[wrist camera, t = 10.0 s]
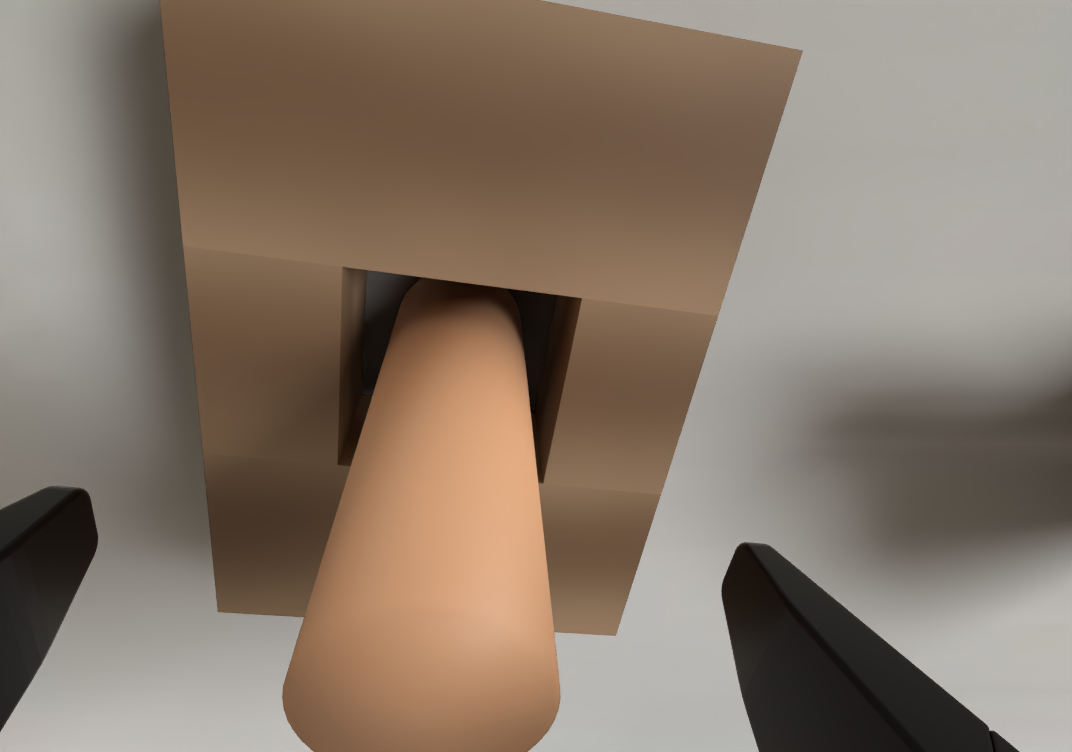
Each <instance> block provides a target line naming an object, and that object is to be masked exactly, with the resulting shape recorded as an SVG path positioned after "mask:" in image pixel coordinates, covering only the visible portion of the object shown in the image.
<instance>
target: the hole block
mask: <svg viewBox="0 0 1072 752" xmlns="http://www.w3.org/2000/svg"><path fill="white" fill-rule="evenodd" d="M160 10H161V21H162V31H163V42H164V52H165V63H166V73H167V84H168V94H169V105H170V115H171V126H172V136H173V147H174V157H175V168H176V178H177V189H178V199H179V210H180V220H181V231H182V241H183V251H184V262H185V272H186V283H187V293H188V304H189V314H190V325H191V335H192V346H193V356H194V367H195V377H196V388H197V398H198V409H199V419H200V430H201V440H202V451H203V461H204V472H205V482H206V493H207V503H208V514H209V524H210V534H211V545H212V555H213V566H214V576H215V587H216V597H217V608H218V612H226V613H243V614H260V615H277V616H293V617H304V616H305V613H306V610H307V607H308V603H309V600H310V597H311V594H312V590H313V587H314V584H315V581H316V577H317V574H318V571H319V568H320V565H321V561H322V558H323V555H324V552H325V548H326V545H327V542H328V539H329V535H330V532H331V529H332V526H333V522H334V519H335V516H336V513H337V509H338V506H339V503H340V500H341V496H342V493H343V490H344V487H345V483H346V480H347V477H348V474H349V470H350V467H351V464H352V461H353V458H354V454H355V451H356V448H357V445H358V441H359V438H360V435H361V432H362V428H363V425H364V422H365V419H366V415H367V412H368V409H369V406H370V402H371V399H372V396H369V395H361V391H362V367H363V343H364V320H365V296H366V272H367V270H371V271H378V272H386V273H394V274H401V275H409V276H417V277H424V278H432V279H440V280H447V281H455V282H463V283H470V284H478V285H486V286H493V287H501V288H509V289H516V290H524V291H532V292H539V293H547V294H554V295H557V299H556V304H555V310H554V315H553V320H552V325H551V331H550V336H549V341H548V346H547V352H546V357H545V362H544V367H543V373H542V378H541V383H540V388H539V394H538V399H537V404H536V409H535V413H531V420H532V430H533V439H534V448H535V458H536V467H537V476H538V486H539V495H540V505H541V514H542V523H543V533H544V542H545V551H546V561H547V570H548V579H549V589H550V598H551V607H552V617H553V626H554V632H561V633H578V634H595V635H612V636H616V633H617V630H618V627H619V624H620V621H621V617H622V614H623V611H624V608H625V605H626V602H627V599H628V596H629V592H630V589H631V586H632V583H633V580H634V577H635V574H636V571H637V567H638V564H639V561H640V558H641V555H642V552H643V549H644V546H645V542H646V539H647V536H648V533H649V530H650V527H651V524H652V521H653V517H654V514H655V511H656V508H657V505H658V502H659V499H660V496H661V492H662V489H663V486H664V483H665V480H666V477H667V474H668V471H669V467H670V464H671V461H672V458H673V455H674V452H675V449H676V446H677V442H678V439H679V436H680V433H681V430H682V427H683V424H684V421H685V417H686V414H687V411H688V408H689V405H690V402H691V399H692V396H693V392H694V389H695V386H696V383H697V380H698V377H699V374H700V371H701V367H702V364H703V361H704V358H705V355H706V352H707V349H708V346H709V342H710V339H711V336H712V333H713V330H714V327H715V324H716V321H717V317H718V314H719V311H720V308H721V305H722V302H723V299H724V296H725V292H726V289H727V286H728V283H729V280H730V277H731V274H732V271H733V267H734V264H735V261H736V258H737V255H738V252H739V249H740V246H741V242H742V239H743V236H744V233H745V230H746V227H747V224H748V221H749V217H750V214H751V211H752V208H753V205H754V202H755V199H756V196H757V192H758V189H759V186H760V183H761V180H762V177H763V174H764V171H765V167H766V164H767V161H768V158H769V155H770V152H771V149H772V146H773V142H774V139H775V136H776V133H777V130H778V127H779V124H780V121H781V117H782V114H783V111H784V108H785V105H786V102H787V99H788V96H789V92H790V89H791V86H792V83H793V80H794V77H795V74H796V71H797V67H798V64H799V61H800V58H801V55H802V52H803V51H802V50H797V49H792V48H787V47H781V46H776V45H771V44H766V43H761V42H755V41H750V40H745V39H740V38H734V37H729V36H724V35H719V34H714V33H708V32H703V31H698V30H693V29H688V28H682V27H677V26H672V25H667V24H661V23H656V22H651V21H646V20H641V19H635V18H630V17H625V16H620V15H615V14H609V13H604V12H599V11H594V10H588V9H583V8H578V7H573V6H568V5H562V4H557V3H552V2H547V1H542V0H160Z"/></svg>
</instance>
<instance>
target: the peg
mask: <svg viewBox="0 0 1072 752" xmlns="http://www.w3.org/2000/svg"><path fill="white" fill-rule="evenodd" d="M282 699H283V707H284V711H285V714H286V717H287V720H288V722H289V723H290V725H291V727H292V729H293V730H294V732H295V733H296V734H297V736H298V737H299V738H300V739H301V740H302V742H304V743H305V744H306V745H307V746H308V747H309V748H310V749H311V750H312V751H314V752H527V751H529V750H530V749H531V748H532V747H533V746H535V745H536V744H537V743H538V742H539V741H540V740H541V739H542V738H543V736H544V735H545V734H546V733H547V732H548V730H549V729H550V727H551V725H552V724H553V722H554V720H555V717H556V715H557V712H558V709H559V704H560V682H559V673H558V663H557V654H556V645H555V635H554V626H553V617H552V607H551V598H550V589H549V579H548V570H547V561H546V551H545V542H544V533H543V523H542V514H541V505H540V495H539V486H538V476H537V467H536V458H535V448H534V439H533V430H532V420H531V411H530V402H529V392H528V383H527V374H526V364H525V355H524V346H523V336H522V327H521V318H520V313H519V310H518V307H517V304H516V302H515V300H514V298H513V297H512V295H511V294H510V293H509V291H508V290H507V289H506V288H501V287H493V286H486V285H478V284H470V283H463V282H455V281H447V280H440V279H432V278H424V277H423V278H422V279H420V280H419V281H418V282H416V283H415V284H414V285H413V286H412V287H411V288H410V290H409V291H408V292H407V294H406V295H405V297H404V298H403V301H402V303H401V305H400V308H399V312H398V315H397V318H396V321H395V325H394V328H393V331H392V334H391V338H390V341H389V344H388V347H387V351H386V354H385V357H384V360H383V363H382V367H381V370H380V373H379V376H378V380H377V383H376V386H375V389H374V393H373V396H372V399H371V402H370V406H369V409H368V412H367V415H366V419H365V422H364V425H363V428H362V432H361V435H360V438H359V441H358V445H357V448H356V451H355V454H354V458H353V461H352V464H351V467H350V470H349V474H348V477H347V480H346V483H345V487H344V490H343V493H342V496H341V500H340V503H339V506H338V509H337V513H336V516H335V519H334V522H333V526H332V529H331V532H330V535H329V539H328V542H327V545H326V548H325V552H324V555H323V558H322V561H321V565H320V568H319V571H318V574H317V577H316V581H315V584H314V587H313V590H312V594H311V597H310V600H309V603H308V607H307V610H306V613H305V616H304V620H303V623H302V626H301V629H300V633H299V636H298V639H297V642H296V646H295V649H294V652H293V655H292V659H291V662H290V665H289V668H288V672H287V675H286V678H285V682H284V685H283V695H282Z"/></svg>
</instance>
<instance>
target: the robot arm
mask: <svg viewBox="0 0 1072 752" xmlns="http://www.w3.org/2000/svg"><path fill="white" fill-rule="evenodd" d="M97 544H98V533H97V528H96V523H95V518H94V513H93V509H92V504H91V499H90V496H89V494H88V492H87V491H86V490H84V489H82V488H74V487H62V486H50V487H47V488H44V489H42V490H40V491H38V492H36V493H34V494H32V495H30V496H28V497H25V498H23V499H21V500H19V501H17V502H15V503H13V504H11V505H9V506H7V507H5V508H3V509H1V510H0V732H1V730H2V728H3V727H4V725H5V723H6V722H7V720H8V719H9V717H10V715H11V714H12V712H13V710H14V709H15V707H16V706H17V704H18V702H19V701H20V699H21V697H22V696H23V694H24V693H25V691H26V689H27V688H28V686H29V684H30V683H31V681H32V679H33V678H34V676H35V674H36V673H37V671H38V669H39V667H40V666H41V664H42V662H43V660H44V658H45V656H46V654H47V653H48V651H49V649H50V647H51V645H52V643H53V641H54V638H55V636H56V634H57V632H58V630H59V628H60V626H61V624H62V622H63V620H64V618H65V615H66V613H67V611H68V609H69V607H70V605H71V603H72V601H73V599H74V597H75V594H76V592H77V590H78V588H79V586H80V584H81V582H82V580H83V578H84V576H85V574H86V571H87V569H88V567H89V565H90V563H91V561H92V559H93V557H94V554H95V552H96V549H97ZM722 601H723V605H724V610H725V615H726V620H727V625H728V630H729V635H730V640H731V645H732V650H733V655H734V660H735V665H736V670H737V675H738V680H739V684H740V689H741V693H742V697H743V701H744V704H745V708H746V711H747V715H748V718H749V721H750V724H751V727H752V731H753V734H754V737H755V740H756V743H757V747H758V750H759V752H1019V751H1018V750H1017V749H1016V748H1014V747H1013V746H1012V745H1011V744H1010V743H1008V742H1007V741H1006V740H1005V739H1004V738H1002V737H1001V736H1000V735H999V734H997V733H996V732H995V731H989V727H988V726H987V725H986V724H985V723H984V722H983V721H982V720H980V719H979V718H978V717H977V716H975V715H974V714H973V713H972V712H971V711H969V710H968V709H967V708H966V707H965V706H963V705H962V704H961V703H960V702H958V701H957V700H956V699H955V698H954V697H952V696H951V695H950V694H949V693H948V692H946V691H945V690H944V689H943V688H942V687H940V686H939V685H938V684H937V683H935V682H934V681H933V680H932V679H931V678H929V677H928V676H927V675H926V674H925V673H923V672H922V671H921V670H920V669H919V668H917V667H916V666H915V665H914V664H912V663H911V662H910V661H909V660H908V659H906V658H905V657H904V656H903V655H902V654H900V653H899V652H898V651H897V650H896V649H894V648H893V647H892V646H891V645H889V644H888V643H887V642H886V641H885V640H883V639H882V638H881V637H880V636H879V635H877V634H876V633H875V632H874V631H873V630H871V629H870V628H869V627H868V626H866V625H865V624H864V623H863V622H862V621H860V620H859V619H858V618H857V617H856V616H854V615H853V614H852V613H851V612H850V611H848V610H847V609H846V608H845V607H843V606H842V605H841V604H840V603H839V602H837V601H836V600H835V599H834V598H833V597H831V596H830V595H829V594H828V593H827V592H825V591H824V590H823V589H822V588H820V587H819V586H818V585H817V584H816V583H814V582H813V581H812V580H811V579H810V578H808V577H807V576H806V575H805V574H804V573H802V572H801V571H800V570H799V569H797V568H796V567H795V566H794V565H793V564H791V563H790V562H789V561H788V560H787V559H785V558H784V557H783V556H782V555H781V554H779V553H778V552H777V551H776V550H774V549H773V548H772V547H771V546H769V545H767V544H761V543H748V542H744V543H741V544H740V545H739V546H738V547H737V548H736V550H735V553H734V555H733V558H732V560H731V562H730V565H729V567H728V570H727V572H726V575H725V577H724V579H723V583H722Z"/></svg>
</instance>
